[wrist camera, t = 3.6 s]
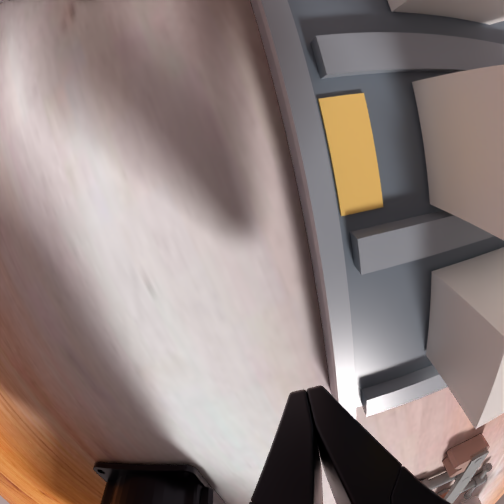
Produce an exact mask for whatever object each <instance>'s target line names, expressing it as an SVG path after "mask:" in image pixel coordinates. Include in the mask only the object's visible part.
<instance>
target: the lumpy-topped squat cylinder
mask: <svg viewBox="0 0 504 504" xmlns="http://www.w3.org/2000/svg"><path fill="white" fill-rule="evenodd" d="M460 504H481V502H480V500H479V498H478V496H474V497H471V498H469V499H467V500H465V501H463V502H462V503H460Z"/></svg>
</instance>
